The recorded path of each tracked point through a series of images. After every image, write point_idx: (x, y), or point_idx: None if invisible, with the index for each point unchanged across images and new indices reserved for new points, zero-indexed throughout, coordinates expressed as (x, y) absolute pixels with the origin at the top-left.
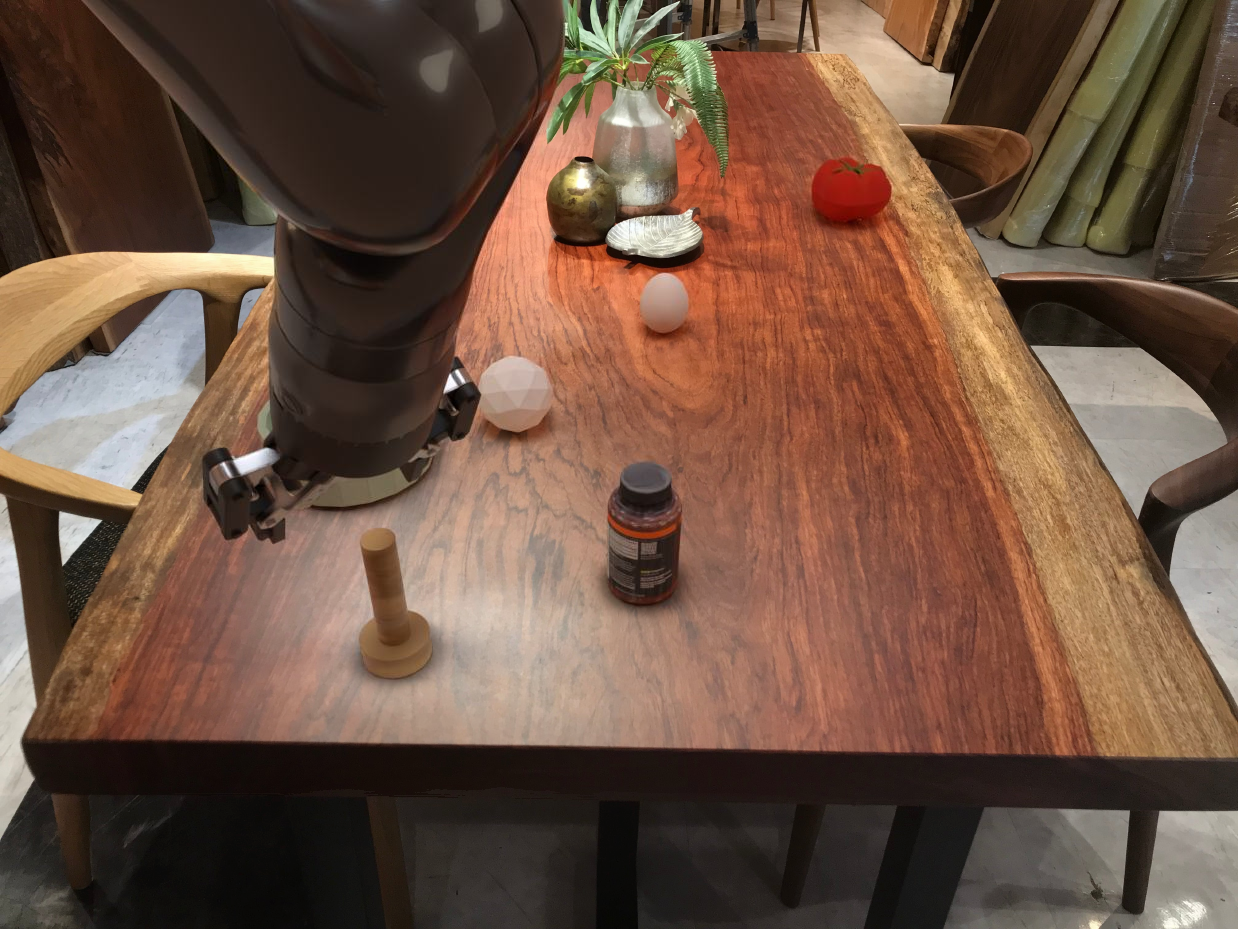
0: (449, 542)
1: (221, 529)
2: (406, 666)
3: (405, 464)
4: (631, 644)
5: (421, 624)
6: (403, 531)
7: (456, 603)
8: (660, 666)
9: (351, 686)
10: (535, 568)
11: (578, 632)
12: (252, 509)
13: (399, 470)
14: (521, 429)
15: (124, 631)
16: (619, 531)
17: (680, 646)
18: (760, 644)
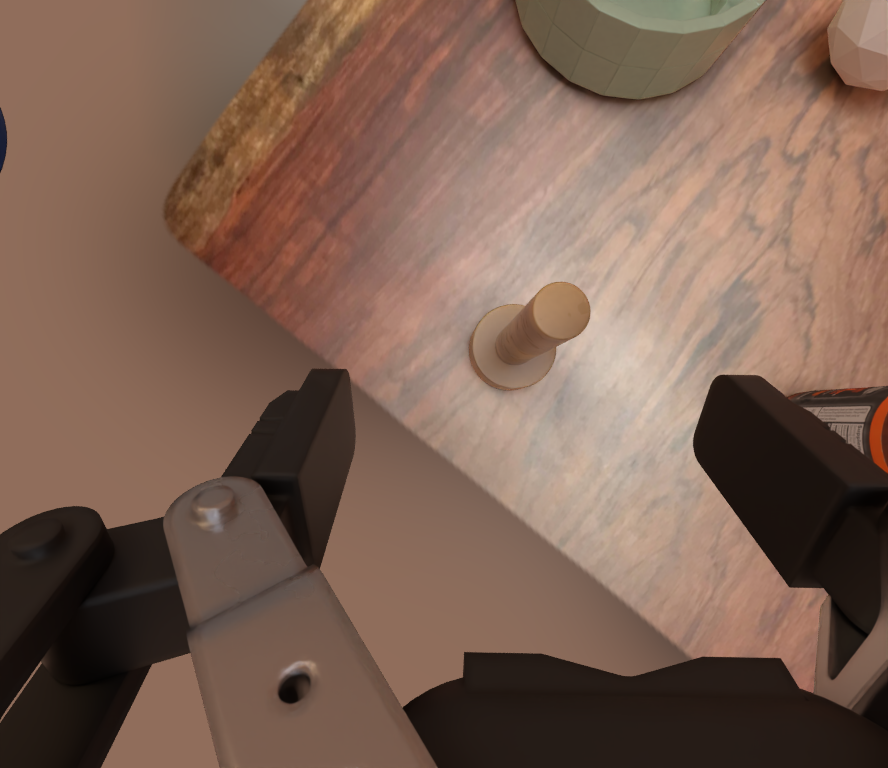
0: (648, 223)
1: (37, 675)
2: (504, 388)
3: (733, 461)
4: (732, 509)
5: (548, 351)
6: (610, 168)
7: (601, 323)
8: (739, 557)
9: (443, 363)
10: (710, 332)
11: (693, 454)
12: (170, 643)
13: (666, 73)
14: (855, 84)
15: (270, 124)
16: (871, 451)
17: None
18: None
